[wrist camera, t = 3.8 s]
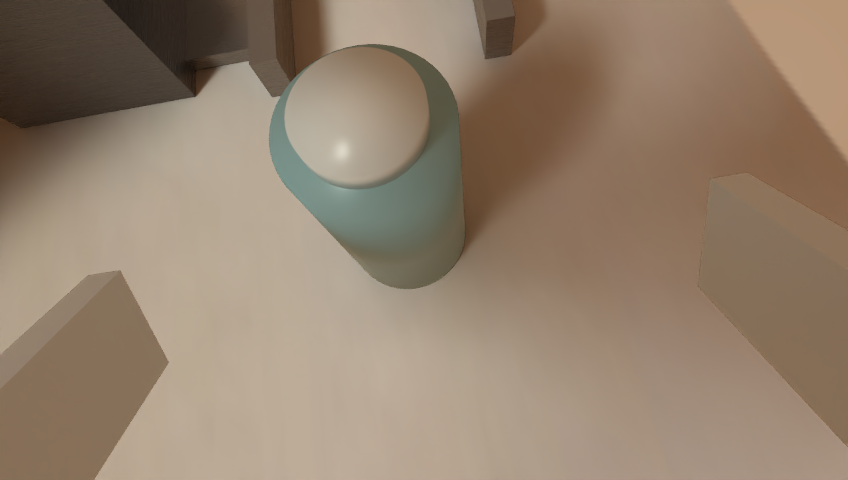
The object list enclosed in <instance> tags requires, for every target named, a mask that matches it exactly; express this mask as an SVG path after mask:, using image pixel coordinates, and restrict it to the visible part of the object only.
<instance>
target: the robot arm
mask: <svg viewBox="0 0 848 480" xmlns="http://www.w3.org/2000/svg"><path fill="white" fill-rule="evenodd" d="M698 287H699V288H700V289H701V290H702V291H703V292H704V293H705V295H706V296H707V297H708V298H709V299H710V300H711V301H712V302H713V303H714V304H715V305H716V306H717V307H718V308H719V310H720V311H721V312H722V313H723V314H724V315H725V316H726V317H727V318H728V319H729V320H730V321H731V322H732V323H733V325H734V326H735V327H736V328H737V329H738V330H739V331H740V332H741V333H742V334H743V335H744V336H745V337H746V338H747V340H748V341H749V342H750V343H751V344H752V345H753V346H754V347H755V348H756V349H757V350H758V351H759V352H760V354H761V355H762V356H763V357H764V358H765V359H766V360H767V361H768V362H769V363H770V364H771V365H772V366H773V367H774V369H775V370H776V371H777V372H778V373H779V374H780V375H781V376H782V377H783V378H784V379H785V380H786V381H787V382H788V384H789V385H790V386H791V387H792V388H793V389H794V390H795V391H796V392H797V393H798V394H799V395H800V396H801V397H802V399H803V400H804V401H805V402H806V403H807V404H808V405H809V406H810V407H811V408H812V409H813V410H814V411H815V412H816V414H817V415H818V416H819V417H820V418H821V419H822V420H823V421H824V422H825V423H826V424H827V425H828V426H829V428H830V429H831V430H832V431H833V432H834V433H835V434H836V435H837V436H838V437H839V438H840V439H841V440H842V441H843V443H844V444H845V445H846V446H847V447H848V230H847V229H845V228H843V227H841V226H840V225H838V224H836V223H834V222H833V221H831V220H829V219H827V218H826V217H824V216H822V215H820V214H819V213H817V212H815V211H813V210H812V209H810V208H808V207H806V206H805V205H803V204H801V203H799V202H798V201H796V200H794V199H793V198H791V197H789V196H787V195H786V194H784V193H782V192H780V191H779V190H777V189H775V188H773V187H772V186H770V185H768V184H766V183H765V182H763V181H761V180H759V179H758V178H756V177H754V176H752V175H751V174H749V173H742V174H735V175H729V176H722V177H716V178H710V186H709V194H708V203H707V212H706V220H705V229H704V237H703V246H702V255H701V263H700V272H699V281H698ZM168 363H169V362H168V360H167V358H166V356H165V354H164V352H163V350H162V349H161V347H160V345H159V343H158V341H157V339H156V337H155V335H154V333H153V331H152V330H151V328H150V326H149V324H148V322H147V320H146V318H145V316H144V314H143V313H142V311H141V309H140V307H139V305H138V303H137V301H136V299H135V297H134V296H133V294H132V292H131V290H130V288H129V286H128V284H127V282H126V280H125V279H124V277H123V275H122V273H121V271H120V270H119V271H112V272H106V273H100V274H93V275H88V276H87V277H86V278H85V279H84V280H82V281H81V282H80V283H79V284H78V285H77V286H76V287H75V288H74V289H73V290H71V291H70V292H69V293H68V294H67V295H66V296H65V297H64V298H63V299H62V300H60V301H59V302H58V303H57V304H56V305H55V306H54V307H53V308H52V309H51V310H49V311H48V312H47V313H46V314H45V315H44V316H43V317H42V318H41V319H40V320H38V321H37V322H36V323H35V324H34V325H33V326H32V327H31V328H30V329H29V330H27V331H26V332H25V333H24V334H23V335H22V336H21V337H20V338H19V339H18V340H16V341H15V342H14V343H13V344H12V345H11V346H10V347H9V348H8V349H7V350H5V351H4V352H3V353H2V354H1V355H0V480H94V479H95V477H96V476H97V474H98V472H99V471H100V469H101V468H102V466H103V465H104V463H105V462H106V460H107V458H108V457H109V455H110V454H111V452H112V451H113V449H114V447H115V446H116V444H117V443H118V441H119V440H120V438H121V436H122V435H123V433H124V432H125V430H126V429H127V427H128V425H129V424H130V422H131V421H132V419H133V418H134V416H135V415H136V413H137V411H138V410H139V408H140V407H141V405H142V404H143V402H144V400H145V399H146V397H147V396H148V394H149V393H150V391H151V389H152V388H153V386H154V385H155V383H156V382H157V380H158V378H159V377H160V375H161V374H162V372H163V371H164V369H165V368H166V366H167V364H168Z"/></svg>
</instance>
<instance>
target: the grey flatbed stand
mask: <svg viewBox="0 0 848 480" xmlns="http://www.w3.org/2000/svg"><path fill="white" fill-rule="evenodd" d="M473 2H474V6H475V11H476V16H477V21H478V26H479V31H480V36H481V41H482V45H483V50H484V55H485V59H488V58H494V57H499V56H505V55H510V54H511V50H512V41H513V32H514V23H515V12H514V8H513V4H512V0H473ZM243 61H249V65H250V66H251V68H252V69H253V70H254V72H255V73H256V75H257V76H258V78H259V79H260V80H261V82H262V83H263V85H264V86H265V88H266V89H267V90H268V92H269V93H270V95H271V96H272V97H276V96H281V95H282V93H283V92H284V90H285V89H286V87H287V86H288V85H289V84H290V82H291V81H292V80H293V79H294V78H295V77H296V75H295V61H294V46H293V32H292V18H291V3H290V0H0V117H2V118H3V119H5V120H7V121H9V122H10V123H12V124H14V125H16V126H17V127H19V128H24V127H29V126H35V125H40V124H46V123H51V122H57V121H62V120H68V119H74V118H79V117H85V116H90V115H96V114H101V113H107V112H112V111H118V110H123V109H129V108H134V107H140V106H146V105H151V104H157V103H162V102H168V101H173V100H179V99H184V98H190V97H195V70H200V69H205V68H211V67H216V66H222V65H227V64H233V63H238V62H243Z"/></svg>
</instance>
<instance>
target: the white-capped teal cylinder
mask: <svg viewBox="0 0 848 480" xmlns="http://www.w3.org/2000/svg"><path fill="white" fill-rule="evenodd" d="M269 145H270V153H271V157H272V161H273V164H274V166H275V169H276V171H277V173H278V175H279V177H280V178H281V180H282V182H283V183H284V184H285V185H286V187H287V188H288V189H289V190H290V191H291V192H292V193H293V194H294V196H295V197H296V198H297V199H298V200H299V201H300V202H301V203H302V204H303V205H304V206H305V207H306V208H307V209H308V210H309V211H310V212H311V214H312V215H313V216H314V217H315V218H316V219H317V220H318V221H319V222H320V223H321V224H322V225H323V226H324V227H325V228H326V229H327V230H328V232H329V233H330V234H331V235H332V236H333V237H334V238H335V239H336V240H337V241H338V242H339V243H340V244H341V245H342V246H343V247H344V248H345V250H346V251H347V252H348V253H349V254H350V255H351V256H352V257H353V258H354V259H355V260H356V261H357V262H358V263H359V264H360V265H361V266H362V268H363V269H364V270H365V271H366V272H367V273H368V274H369V275H370V276H372V277H373V278H374V279H376V280H377V281H379V282H381V283H383V284H385V285H388V286H390V287H395V288H400V289H414V288H420V287H423V286H427V285H429V284H431V283H434V282H436V281H437V280H439V279H440V278H442V277H443V276H444V275H446V274H447V273H448V272H449V271H450V270H451V269H452V268H453V266H454V265H455V264H456V262H457V261H458V259H459V257H460V255H461V252H462V250H463V246H464V242H465V217H464V200H463V182H462V165H461V148H460V130H459V113H458V108H457V103H456V100H455V97H454V95H453V92H452V90H451V88H450V86H449V85H448V83H447V81H446V80H445V79H444V77H443V76H442V75H441V73H440V72H439V71H438V70H437V69H436V68H435V67H434V66H433V65H431V64H430V63H429V62H427V61H426V60H425V59H423V58H421V57H420V56H418V55H416V54H414V53H412V52H409V51H407V50H404V49H401V48H397V47H394V46H387V45H377V44H367V45H357V46H352V47H347V48H343V49H340V50H337V51H334V52H332V53H330V54H327V55H325V56H323V57H321V58H319V59H318V60H316V61H314V62H313V63H311V64H310V65H309V66H307V67H306V68H305V69H303V70H302V71H301V72H300V73H299V74H298V75H297V76H296V77H295V78H294V79H293V80H292V81H291V82H290V84H289V85H288V86H287V87H286V89H285V90H284V92H283V93H282V95H281V97H280V99H279V101H278V103H277V105H276V107H275V110H274V113H273V115H272V119H271V124H270V132H269Z"/></svg>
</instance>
